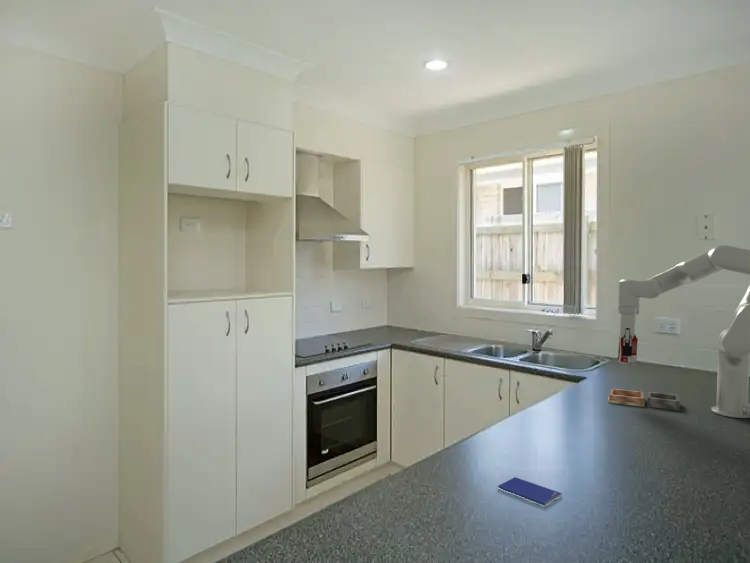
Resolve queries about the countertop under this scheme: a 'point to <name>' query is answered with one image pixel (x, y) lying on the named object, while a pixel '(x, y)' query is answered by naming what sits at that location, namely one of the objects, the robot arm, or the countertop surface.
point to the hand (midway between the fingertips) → (627, 354)
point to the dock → (638, 400)
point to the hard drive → (530, 491)
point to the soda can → (632, 359)
